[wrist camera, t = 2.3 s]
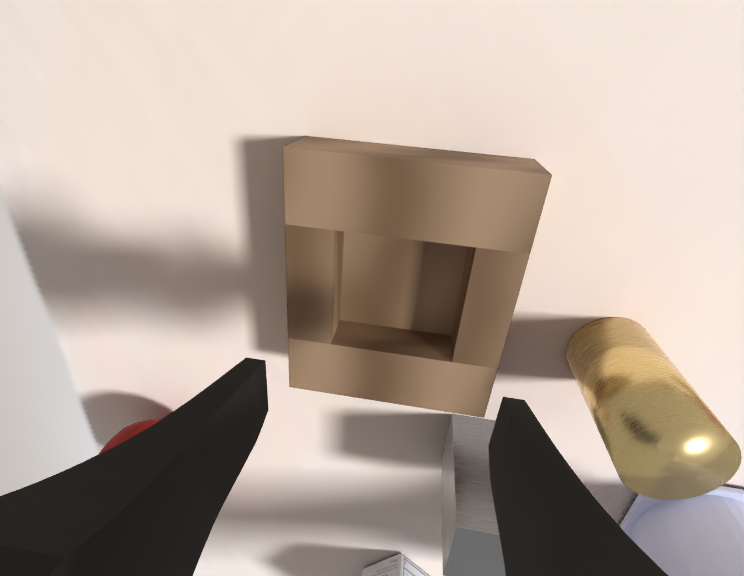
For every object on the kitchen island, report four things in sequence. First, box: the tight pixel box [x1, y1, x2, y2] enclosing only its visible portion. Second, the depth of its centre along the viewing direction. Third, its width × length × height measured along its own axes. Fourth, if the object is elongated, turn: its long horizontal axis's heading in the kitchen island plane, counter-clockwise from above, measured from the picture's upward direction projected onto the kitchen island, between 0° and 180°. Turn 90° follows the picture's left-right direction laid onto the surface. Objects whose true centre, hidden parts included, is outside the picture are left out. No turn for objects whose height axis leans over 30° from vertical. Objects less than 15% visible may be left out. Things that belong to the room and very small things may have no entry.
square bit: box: [442, 414, 506, 576], centre depth 22 cm, size 4×4×7 cm
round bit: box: [566, 317, 741, 500], centre depth 18 cm, size 4×4×7 cm
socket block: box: [283, 136, 552, 418], centre depth 19 cm, size 10×12×3 cm
